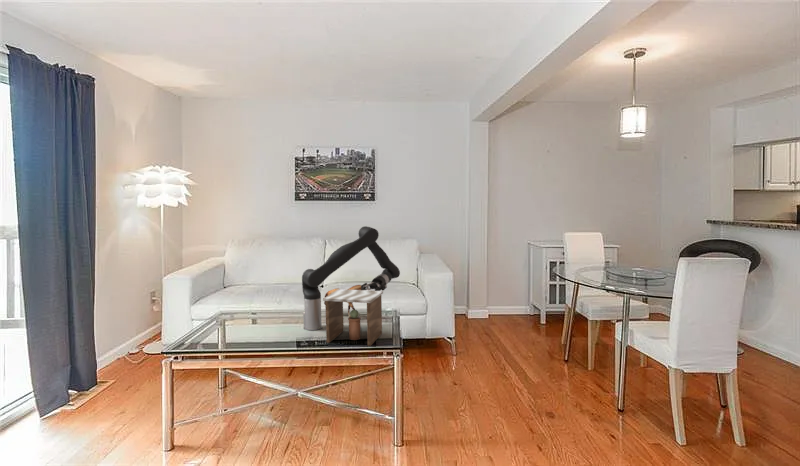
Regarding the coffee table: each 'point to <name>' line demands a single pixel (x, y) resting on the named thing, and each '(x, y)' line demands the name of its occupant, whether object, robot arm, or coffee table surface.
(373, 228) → the robot arm
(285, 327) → the coffee table surface
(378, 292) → the side table
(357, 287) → the horse figurine
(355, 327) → the pot
